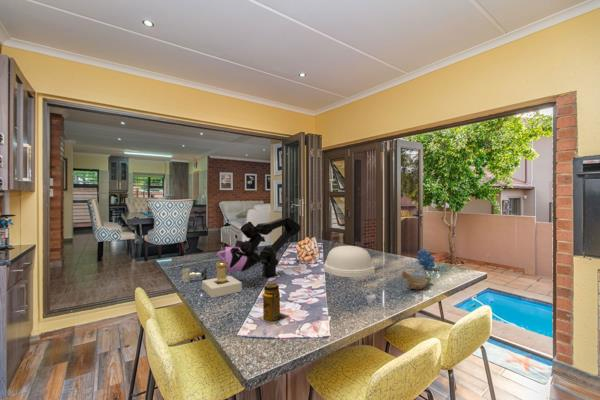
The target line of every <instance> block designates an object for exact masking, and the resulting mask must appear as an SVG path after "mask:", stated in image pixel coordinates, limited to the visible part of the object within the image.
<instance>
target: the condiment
mask: <svg viewBox="0 0 600 400" xmlns="http://www.w3.org/2000/svg"><path fill="white" fill-rule="evenodd" d="M279 288H280V287H279V285H278V284H277V283H267V284H265V285H264V289H263V291H264V292H263V295H262V297H263V298H262V299H263V303H262V305H263V307H262V312H263V313H262V314H263V315H262V316H260V317H258V319H260V320H262V321H264V322H266V323H269V324H271V325H273V324H275V323H277V322H279V321H281V320H283V319H285V318H287V317H289V315H288V314H286V313H285V314H284V313H282V312H281V293H280V289H279Z"/></svg>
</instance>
